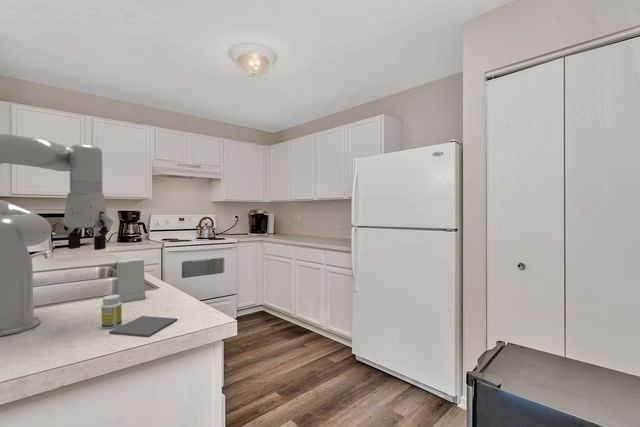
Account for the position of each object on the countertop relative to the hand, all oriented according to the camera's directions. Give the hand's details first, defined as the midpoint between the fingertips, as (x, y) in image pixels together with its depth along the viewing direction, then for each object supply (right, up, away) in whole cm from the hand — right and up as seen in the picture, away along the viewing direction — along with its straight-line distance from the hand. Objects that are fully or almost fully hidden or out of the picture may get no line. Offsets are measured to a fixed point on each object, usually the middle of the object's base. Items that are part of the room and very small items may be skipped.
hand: (87, 248), depth 90 cm
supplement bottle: (+8, -22, -1) cm, 24 cm away
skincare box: (-2, -22, +24) cm, 33 cm away
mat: (+18, -22, -2) cm, 28 cm away
